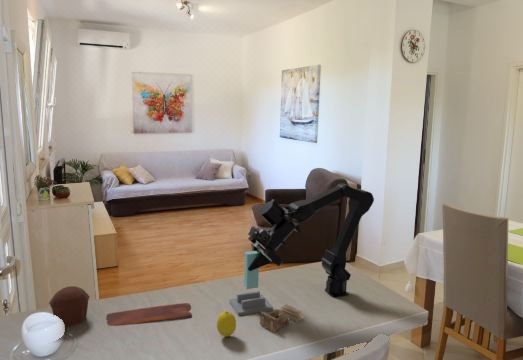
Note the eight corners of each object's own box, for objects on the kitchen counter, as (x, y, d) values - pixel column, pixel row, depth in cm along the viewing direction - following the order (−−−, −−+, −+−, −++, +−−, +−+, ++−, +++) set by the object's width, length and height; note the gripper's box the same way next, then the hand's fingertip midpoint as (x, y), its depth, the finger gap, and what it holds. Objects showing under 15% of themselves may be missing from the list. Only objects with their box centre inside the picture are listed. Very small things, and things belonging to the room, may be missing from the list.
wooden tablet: (189, 305, 143) (189, 300, 142) (193, 319, 133) (193, 314, 133) (106, 313, 136) (106, 309, 135) (104, 329, 126) (103, 324, 126)
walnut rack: (275, 317, 134) (275, 305, 134) (289, 324, 130) (289, 312, 129) (259, 325, 129) (260, 312, 129) (274, 332, 125) (274, 319, 124)
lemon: (237, 340, 120) (238, 314, 119) (218, 343, 119) (218, 317, 118) (233, 330, 126) (233, 305, 124) (215, 333, 124) (215, 308, 123)
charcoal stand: (262, 297, 148) (262, 287, 148) (272, 310, 139) (273, 300, 138) (229, 302, 144) (229, 292, 144) (238, 315, 135) (238, 305, 134)
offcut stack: (283, 310, 139) (283, 302, 139) (302, 319, 134) (303, 310, 134) (277, 314, 137) (277, 305, 136) (297, 322, 132) (297, 313, 131)
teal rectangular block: (255, 284, 142) (256, 250, 140) (258, 287, 140) (258, 253, 138) (244, 286, 141) (244, 252, 139) (246, 289, 138) (247, 254, 136)
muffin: (85, 327, 126) (84, 296, 124) (45, 331, 124) (43, 299, 122) (93, 309, 137) (91, 280, 136) (56, 311, 135) (54, 282, 133)
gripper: (253, 211, 146) (223, 245, 144) (274, 225, 129) (239, 264, 127) (274, 231, 150) (244, 264, 148) (296, 247, 133) (263, 285, 131)
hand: (247, 268), depth 139 cm, fingers closed on teal rectangular block, 2 cm apart
